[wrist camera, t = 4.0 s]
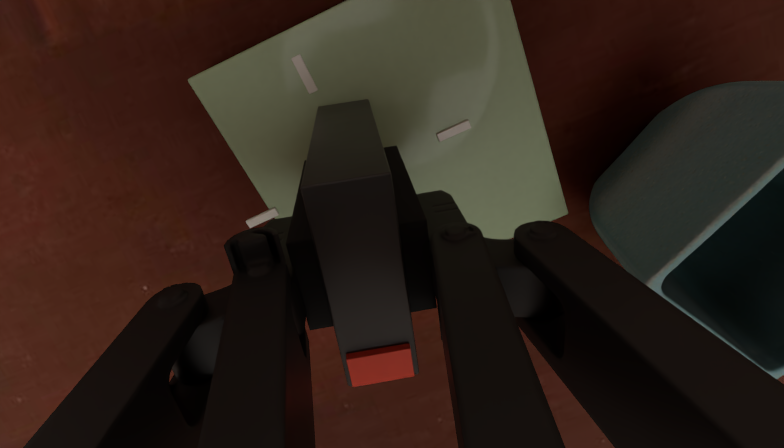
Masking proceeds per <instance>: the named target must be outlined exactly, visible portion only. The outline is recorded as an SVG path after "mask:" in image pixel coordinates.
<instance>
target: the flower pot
mask: <svg viewBox="0 0 784 448" xmlns="http://www.w3.org/2000/svg"><path fill="white" fill-rule="evenodd" d="M589 212H590V217H591V220H592V223H593V226H594V228H595V230H596V231H597V233H598V235H599V236H600V238H601V239H602V240H603V242H604V243H605V244H606V246H607V247H608V248H609V249H610V251H611V252H612V253H613V255H614V256H615V257H616V258H617V259H618V261H619V262H620V263H621V265H622V266H623V267H624V268H625V270H626V271H627V272H629V273H630V274H631V275H633V276H634V277H635V278H637V279H638V280H640V281H641V282H642V283H644V284H645V285H647V286H648V287H649V288H651V289H652V290H653V291H655V292H656V293H658V294H659V295H660V296H662V297H663V298H665V299H666V300H667V301H669V302H670V303H671V304H673V305H674V306H676V307H677V308H678V309H680V310H681V311H683V312H684V313H685V314H687V315H688V316H690V317H691V318H692V319H694V320H695V321H696V322H698V323H699V324H701V325H702V326H703V327H705V328H706V329H708V330H709V331H710V332H712V333H713V334H714V335H716V336H717V337H719V338H720V339H721V340H723V341H724V342H726V343H727V344H728V345H730V346H731V347H732V348H734V349H735V350H737V351H738V352H739V353H741V354H742V355H744V356H745V357H746V358H748V359H749V360H750V361H752V362H753V363H755V364H756V365H757V366H759V367H760V368H762V369H763V370H764V371H766V372H767V373H768V374H770V375H771V376H773V377H774V378H775V379H778V378H779V377H781V376H783V375H784V81H741V82H730V83H725V84H719V85H715V86H711V87H707V88H704V89H701V90H699V91H696V92H694V93H691V94H689V95H687V96H685V97H683V98H682V99H680V100H678V101H676V102H675V103H673V104H672V105H670V106H669V107H667V108H666V109H664V110H662V111H661V112H660V113H659V114H658V115H657V116H656V117H655V118H654V119H653V120H652V121H651V122H650V123H649V124H648V125H647V126H646V127H645V129H644V130H643V131H642V132H641V133H640V134H639V135H638V136H637V137H636V138H635V140H634V141H633V142H632V143H631V144H630V145H629V146H628V147H627V148H626V149H625V151H624V152H623V153H622V154H621V155H620V156H619V157H618V158H617V159H616V160H615V161H614V162H613V163H612V164H611V165H610V166H609V167H608V169H607V170H606V171H605V172H604V173H603V174H602V175H601V176H600V177H599V178H598V179H597V181H596V182H595V183H594V186H593V189H592V191H591V195H590V200H589Z"/></svg>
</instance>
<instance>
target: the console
mask: <svg viewBox="0 0 784 448" xmlns="http://www.w3.org/2000/svg"><path fill="white" fill-rule="evenodd" d="M188 82H189V84H190V85H191V87H192V88H193V90H194V92H195V93H196V95H197V96H198V98H199V99H200V101H201V103H202V104H203V106H204V107H205V109H206V110H207V112H208V114H209V115H210V117H211V118H212V120H213V121H214V123H215V125H216V126H217V128H218V129H219V131H220V132H221V134H222V136H223V137H224V139H225V140H226V142H227V143H228V145H229V147H230V148H231V150H232V151H233V153H234V154H235V156H236V158H237V159H238V161H239V162H240V164H241V165H242V167H243V169H244V170H245V172H246V173H247V175H248V177H249V178H250V180H251V181H252V183H253V184H254V186H255V188H256V189H257V191H258V192H259V194H260V195H261V197H262V199H263V200H264V202H265V203H266V205H267V206H268V208H269V210H267V211H265V212H263V213H261V214H259V215H256V216H254V217H252V218H250V219H248V220H246V223H247V225H248V226H249V227H250V228H252V227H254V226H256V225H258V224H260V223H263V222H265V221H267V220H269V219H271V218H274V217H275V219H278V218H284V217H290V216H292V214H293V210H294V205H295V201H296V196H297V192H298V187H299V183H300V179H301V174H302V170H303V165H304V161H305V160H307V155H308V151H309V146H310V141H311V137H312V132H313V127H314V123H315V118H316V113H317V109H318V107H319V106H325V105H332V104H338V103H345V102H351V101H358V100H364V99H369V102H370V105H371V109H372V112H373V115H374V118H375V122H376V125H377V128H378V131H379V135H380V138H381V141H382V145H383V148H384V147H390V146H396V145H397V147H398V150H399V152H400V155H401V157H402V160H403V162H404V165H405V167H406V170H407V172H408V175H409V177H410V180H411V182H412V185H413V187H414V189H415V192H416V194H420V193H426V192H432V191H438V190H443V191H445V192H446V193H448V194H450V195H451V196H452V197H453V199H454V201H455V203H456V204H457V206H458V208H459V209H460V211H461V213H462V214H463V216H464V218H465V220H466V221H467V223H470V224H473V225H475V226H477V227H478V228H479V229H480V230H481V232H482V234H483V237H485V238H490V239H510V238H513V237H514V231H515V229H516V228H517V227H519V226H520V225H522V224H525V223H528V222H534V221H540V220H542V221H552V220H555V219H557V218H560V217H562V216H564V215H567V214H568V210H567V206H566V203H565V199H564V195H563V192H562V188H561V184H560V181H559V177H558V173H557V170H556V166H555V162H554V159H553V155H552V151H551V148H550V144H549V140H548V137H547V133H546V129H545V126H544V122H543V118H542V115H541V111H540V107H539V104H538V100H537V96H536V93H535V89H534V85H533V82H532V78H531V74H530V71H529V67H528V63H527V60H526V56H525V52H524V49H523V45H522V41H521V38H520V34H519V30H518V27H517V23H516V19H515V16H514V12H513V8H512V5H511V1H510V0H346V1H344V2H342V3H340V4H338V5H336V6H334V7H332V8H330V9H328V10H326V11H324V12H322V13H320V14H318V15H316V16H314V17H312V18H310V19H308V20H306V21H304V22H302V23H300V24H298V25H296V26H294V27H292V28H290V29H288V30H286V31H284V32H282V33H280V34H277V35H275V36H273V37H271V38H269V39H267V40H265V41H263V42H261V43H259V44H257V45H255V46H253V47H251V48H249V49H247V50H245V51H243V52H241V53H239V54H237V55H235V56H233V57H231V58H229V59H227V60H225V61H223V62H221V63H219V64H217V65H215V66H213V67H211V68H209V69H207V70H205V71H203V72H201V73H199V74H197V75H195V76H193V77H191V78H189V79H188Z"/></svg>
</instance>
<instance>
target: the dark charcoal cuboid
mask: <svg viewBox="0 0 784 448" xmlns="http://www.w3.org/2000/svg"><path fill="white" fill-rule="evenodd" d="M300 189H301V193H302V197H303V201H304V205H305V209H306V214H307V218H308V222H309V226H310V230H311V234H312V238H313V242H314V247H315V251H316V255H317V259H318V263H319V267H320V271H321V276H322V280H323V284H324V288H325V292H326V296H327V300H328V304H329V309H330V313H331V317H332V321H333V325H334V329H335V333H336V337H337V342H338V346H339V350H340V354H341V358H342V362H343V366H344V371H345V375H346V379H347V383H348V385H349V386H353V387H356V386H362V385H368V384H373V383H379V382H384V381H390V380H396V379H401V378H407V377H413V376H414V374H418V373H419V368H418V361H417V354H416V347H415V339H414V332H413V325H412V318H411V311H410V304H409V296H408V289H407V282H406V275H405V268H404V261H403V253H402V246H401V239H400V232H399V225H398V218H397V210H396V203H395V196H394V189H393V182H392V175H391V171H390V168H389V164H388V161H387V158H386V154H385V151H384V148H383V145H382V141H381V138H380V135H379V131H378V128H377V125H376V122H375V118H374V115H373V112H372V109H371V105H370V102H369V99H364V100H358V101H351V102H345V103H338V104H332V105H325V106H319V107H318V109H317V113H316V118H315V123H314V127H313V132H312V137H311V141H310V146H309V151H308V155H307V160H306V164H305V169H304V174H303V178H302V183H301V188H300Z"/></svg>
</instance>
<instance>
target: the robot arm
mask: <svg viewBox="0 0 784 448" xmlns="http://www.w3.org/2000/svg"><path fill="white" fill-rule="evenodd" d="M384 151H385V154H386V158H387V161H388V164H389V168H390V171H391V175H392V182H393V189H394V196H395V203H396V210H397V218H398V225H399V232H400V239H401V246H402V253H403V261H404V268H405V275H406V282H407V289H408V296H409V304H410V311H411V312H415V311H421V310H426V309H432V308H437V306H436V299H437V304H438V313H439V322H440V331H441V340H442V341H443V347H444V354H445V361H446V367H447V374H448V381H449V387H450V394H451V400H452V407H453V414H454V420H455V427H456V434H457V440H458V447H459V448H565V446H564V443H563V441H562V438H561V435H560V433H559V430H558V428H557V425H556V423H555V420H554V417H553V415H552V412H551V410H550V407H549V405H548V402H547V399H546V397H545V394H544V392H543V389H542V386H541V384H540V381H539V379H538V376H537V374H536V371H535V368H534V366H533V363H532V361H531V358H530V355H529V353H528V350H527V348H526V345H525V343H524V340H523V337H522V335H521V332H520V330H519V327H520V328H521V330H522V331H523V332H524V333H525V335H526V336H527V337H528V338H529V340H530V341H531V342H532V343H533V345H534V346H535V347H536V349H537V350H538V351H539V352H540V354H541V355H542V356H543V357H544V359H545V360H546V361H547V362H548V364H549V365H550V366H551V367H552V369H553V370H554V371H555V372H556V374H557V375H558V376H559V378H560V379H561V380H562V381H563V383H564V384H565V385H566V386H567V388H568V389H569V390H570V391H571V393H572V394H573V395H574V396H575V398H576V399H577V400H578V401H579V403H580V404H581V405H582V407H583V408H584V409H585V410H586V412H587V413H588V414H589V415H590V417H591V418H592V419H593V420H594V422H595V423H596V424H597V425H598V427H599V428H600V429H601V430H602V432H603V433H604V434H605V435H606V437H607V438H608V439H609V441H610V442H611V443H612V444H613V446H614V447H615V448H784V384H782V383H781V382H780V381H778V380H777V379H775V378H774V377H773V376H771V375H770V374H768V373H767V372H766V371H764V370H763V369H762V368H760V367H759V366H757V365H756V364H755V363H753V362H752V361H750V360H749V359H748V358H746V357H745V356H744V355H742V354H741V353H739V352H738V351H737V350H735V349H734V348H732V347H731V346H730V345H728V344H727V343H726V342H724V341H723V340H721V339H720V338H719V337H717V336H716V335H714V334H713V333H712V332H710V331H709V330H708V329H706V328H705V327H703V326H702V325H701V324H699V323H698V322H696V321H695V320H694V319H692V318H691V317H690V316H688V315H687V314H685V313H684V312H683V311H681V310H680V309H678V308H677V307H676V306H674V305H673V304H671V303H670V302H669V301H667V300H666V299H665V298H663V297H662V296H660V295H659V294H658V293H656V292H655V291H653V290H652V289H651V288H649V287H648V286H647V285H645V284H644V283H642V282H641V281H640V280H638V279H637V278H635V277H634V276H633V275H631V274H630V273H629V272H627V271H626V270H624V269H623V268H622V267H620V266H619V265H617V264H616V263H615V262H613V261H612V260H611V259H609V258H608V257H606V256H605V255H604V254H602V253H601V252H599V251H598V250H597V249H595V248H594V247H593V246H591V245H590V244H588V243H587V242H586V241H584V240H583V239H581V238H580V237H579V236H577V235H576V234H575V233H573V232H572V231H570V230H569V229H568V228H566V227H564V226H562V225H560V224H558V223H554V222H550V221H542V220H540V221H534V222H528V223H525V224H522V225H520V226H519V227H517V228H516V229H515V231H514V239H490V238H485V237H483V234H482V232H481V230H480V229H479V228H478V227H477V226H475V225H473V224H470V223H467V221H466V220H465V218H464V216H463V214H462V213H461V211H460V209H459V208H458V206H457V204H456V203H455V201H454V199H453V197H452V196H451V195H450V194H448V193H446V192H445V191H443V190H438V191H432V192H426V193H420V194H416V192H415V189H414V187H413V185H412V182H411V180H410V177H409V175H408V172H407V170H406V167H405V165H404V162H403V160H402V157H401V155H400V152H399V150H398V147H397V145H396V146H390V147H384ZM305 164H306V160H305V161H304V165H303V170H302V174H301V179H300V183H299V187H298V192H297V196H296V201H295V205H294V210H293V214H292V216H290V217H284V218H278V219H272V220H270V221H269V222H268V223H267V224H266V225H265V226H264V227H260V228H253V229H249V230H246V231H243V232H241V233H239V234H236V235H234V236H233V237H231V238H230V239H229V240H227V242H226V243H225V245H224V248H225V250H226V253H227V256H228V259H229V262H230V265H231V267H232V270H233V273H234V276H233V281H232V284H231V285H229V286H227V287H225V288H222V289H220V290H217V291H214V292H211V293H208V294H205V295H204V294H203V291H202V289H201V286H200V285H198V284H195V283H182V284H175V285H172V286H171V287H166V288H164V289H163V290H162V291H160V292H158V293H157V294H155V295H154V296H153V297H151V298H150V299H149V300H148V301H147V302H146V303H145V305H144V306H143V307H142V308H141V309H140V310H139V312H138V313H137V314H136V315H135V316H134V318H133V319H132V320H131V321H130V322H129V323H128V325H127V326H126V327H125V328H124V329H123V330H122V332H121V333H120V334H119V335H118V336H117V338H116V339H115V340H114V341H113V342H112V343H111V345H110V346H109V347H108V348H107V349H106V351H105V352H104V353H103V354H102V355H101V356H100V358H99V359H98V360H97V361H96V362H95V364H94V365H93V366H92V367H91V368H90V369H89V371H88V372H87V373H86V374H85V375H84V377H83V378H82V379H81V380H80V381H79V382H78V384H77V385H76V386H75V387H74V388H73V390H72V391H71V392H70V393H69V394H68V395H67V397H66V398H65V399H64V400H63V401H62V403H61V404H60V405H59V406H58V407H57V408H56V410H55V411H54V412H53V413H52V414H51V415H50V417H49V418H48V419H47V420H46V421H45V423H44V424H43V425H42V426H41V427H40V428H39V430H38V431H37V432H36V433H35V434H34V436H33V437H32V438H31V439H30V440H29V441H28V443H27V444H26V445H25V446H24V447H23V448H315V432H314V416H313V400H312V384H311V367H310V351H309V340H308V336H307V333H306V329H305V320H306V318H307V321H308V325H309V328H310V330H314V329H319V328H325V327H331V326H334V325H333V321H332V317H331V313H330V309H329V304H328V300H327V296H326V292H325V288H324V284H323V280H322V276H321V271H320V267H319V263H318V259H317V255H316V251H315V247H314V242H313V238H312V234H311V230H310V226H309V222H308V218H307V214H306V209H305V205H304V201H303V197H302V193H301V189H300V188H301V183H302V178H303V174H304V169H305ZM435 296H436V297H435ZM518 326H519V327H518ZM171 369H172V370H173V372H174V376H173V377H172V379H171V381H170V382H169V375H170V372H171Z"/></svg>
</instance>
